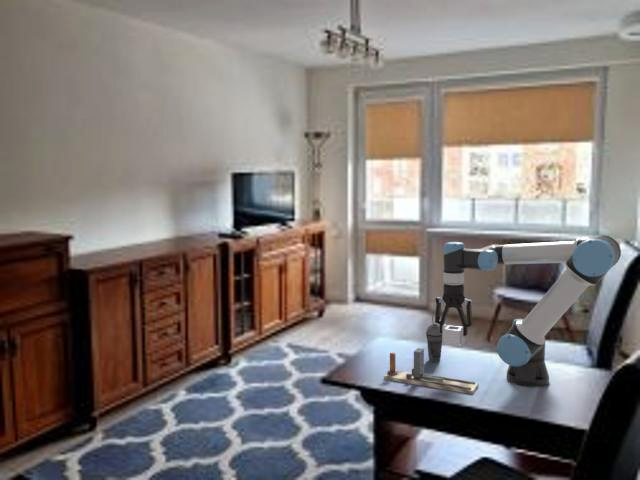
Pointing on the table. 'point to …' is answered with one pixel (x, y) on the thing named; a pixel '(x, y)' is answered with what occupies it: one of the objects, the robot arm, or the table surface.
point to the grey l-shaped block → (421, 366)
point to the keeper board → (429, 380)
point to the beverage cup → (434, 342)
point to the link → (452, 335)
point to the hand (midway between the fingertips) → (453, 342)
